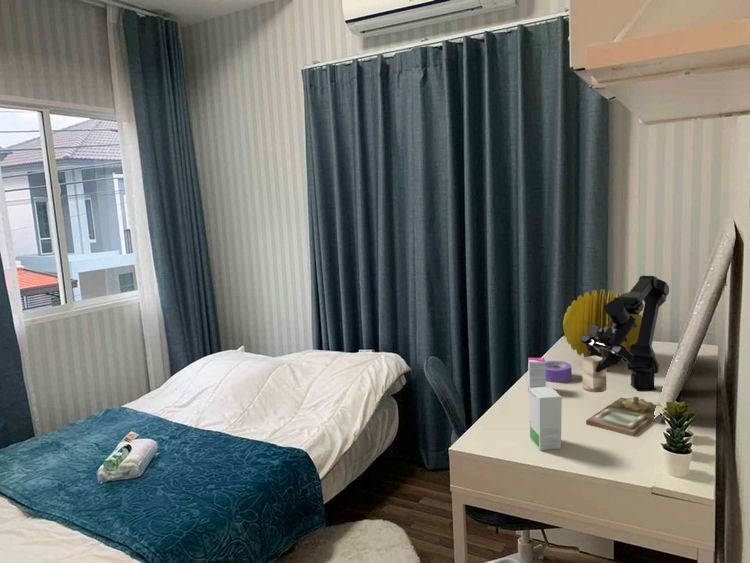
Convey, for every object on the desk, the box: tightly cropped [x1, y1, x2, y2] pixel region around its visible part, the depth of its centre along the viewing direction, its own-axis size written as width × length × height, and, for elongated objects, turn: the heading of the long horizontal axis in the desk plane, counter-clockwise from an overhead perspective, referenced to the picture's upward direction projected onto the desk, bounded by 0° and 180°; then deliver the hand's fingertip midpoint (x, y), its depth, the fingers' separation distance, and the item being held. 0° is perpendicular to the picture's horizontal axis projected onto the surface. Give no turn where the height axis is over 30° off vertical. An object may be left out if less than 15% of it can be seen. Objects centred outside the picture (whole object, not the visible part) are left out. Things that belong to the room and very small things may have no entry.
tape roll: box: [545, 360, 573, 383], centre depth 212 cm, size 12×12×5 cm
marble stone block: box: [581, 355, 607, 393], centre depth 178 cm, size 7×7×10 cm
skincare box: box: [528, 385, 563, 452], centre depth 157 cm, size 8×7×16 cm
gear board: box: [585, 396, 657, 437], centre depth 172 cm, size 24×14×4 cm, turn 133°
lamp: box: [562, 288, 643, 358], centre depth 224 cm, size 30×30×30 cm
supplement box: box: [527, 357, 547, 394], centre depth 200 cm, size 6×6×12 cm
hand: (590, 369), depth 177 cm, fingers closed on marble stone block, 5 cm apart
